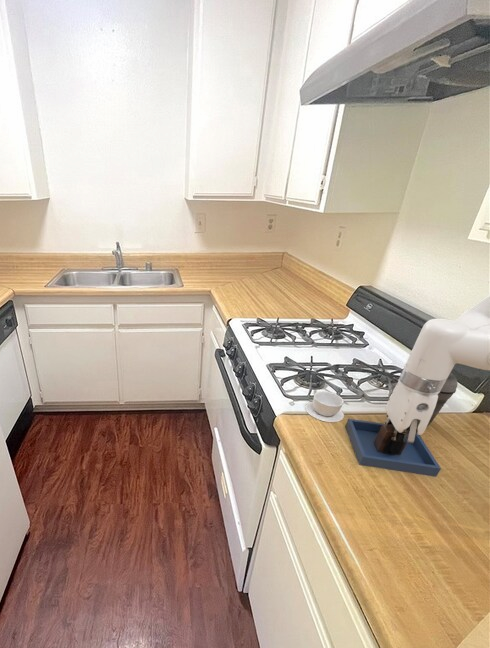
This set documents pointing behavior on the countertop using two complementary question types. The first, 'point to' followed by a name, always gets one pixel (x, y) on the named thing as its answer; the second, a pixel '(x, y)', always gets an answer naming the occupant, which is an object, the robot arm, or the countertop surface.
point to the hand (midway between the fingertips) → (387, 446)
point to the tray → (410, 460)
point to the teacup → (326, 406)
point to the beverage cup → (444, 394)
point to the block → (385, 437)
